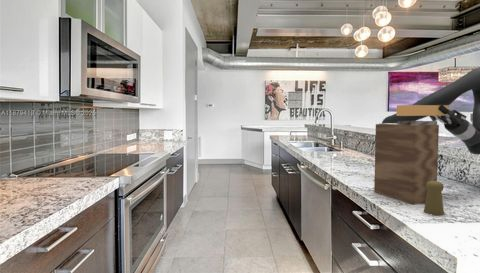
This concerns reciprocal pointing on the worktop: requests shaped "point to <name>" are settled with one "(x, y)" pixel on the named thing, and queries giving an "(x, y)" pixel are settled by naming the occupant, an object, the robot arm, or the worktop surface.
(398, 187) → the walnut stand
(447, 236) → the worktop surface
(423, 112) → the wooden bar
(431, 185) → the cork
